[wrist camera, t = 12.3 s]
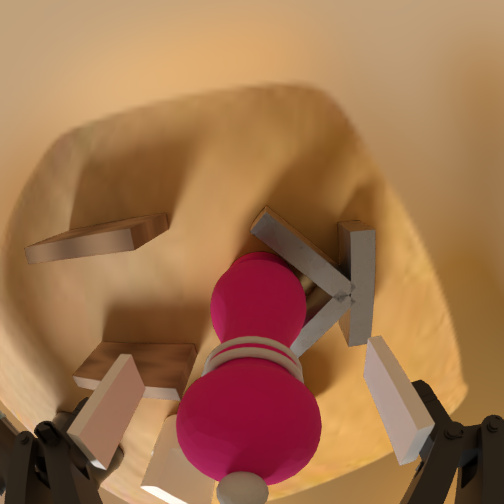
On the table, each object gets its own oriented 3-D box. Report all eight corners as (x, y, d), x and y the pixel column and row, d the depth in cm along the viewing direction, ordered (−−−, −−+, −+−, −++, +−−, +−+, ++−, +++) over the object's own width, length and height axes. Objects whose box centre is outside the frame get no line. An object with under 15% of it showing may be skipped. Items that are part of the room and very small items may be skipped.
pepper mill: (223, 240, 24) (106, 437, 5) (306, 251, 24) (393, 463, 5) (217, 314, 26) (151, 516, 7) (293, 323, 26) (316, 533, 7)
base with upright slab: (239, 441, 32) (230, 513, 20) (192, 453, 34) (176, 514, 22) (196, 406, 30) (174, 484, 19) (151, 421, 32) (123, 485, 20)
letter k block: (267, 348, 27) (267, 373, 23) (251, 207, 23) (247, 213, 19) (357, 337, 26) (367, 360, 22) (357, 197, 22) (374, 202, 19)
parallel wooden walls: (106, 351, 29) (78, 386, 22) (68, 230, 25) (24, 247, 18) (197, 355, 28) (180, 400, 21) (166, 212, 24) (129, 228, 17)
